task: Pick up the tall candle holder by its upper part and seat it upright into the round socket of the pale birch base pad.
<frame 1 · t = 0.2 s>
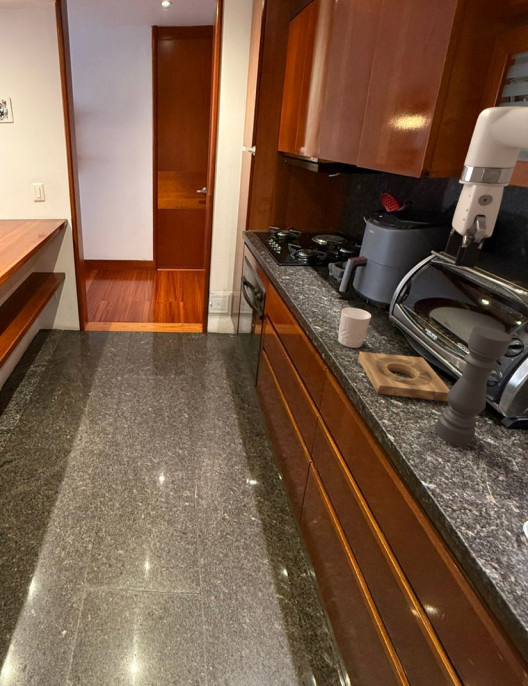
hand: (458, 259, 82), 35 cm above the worktop, tool pointing down, fingers open, 9 cm apart
candle holder: (451, 436, 83), on the worktop
base pad: (399, 378, 102), on the worktop
white cup: (349, 342, 119), on the worktop
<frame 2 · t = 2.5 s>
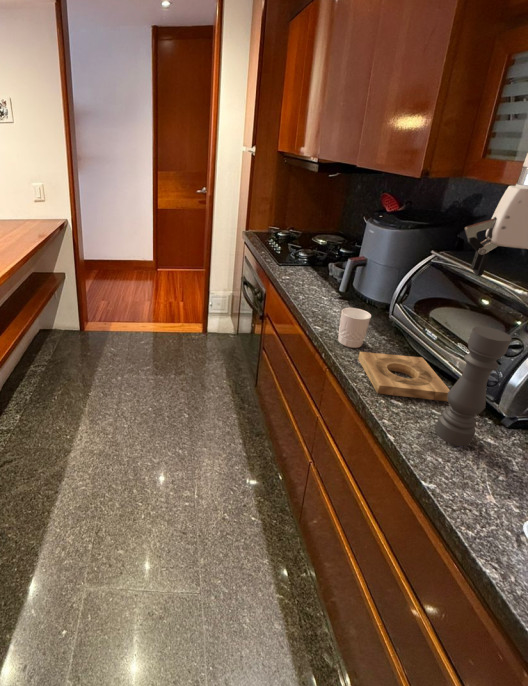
hand: (510, 278, 69), 36 cm above the worktop, tool pointing down, fingers open, 9 cm apart
nothing on the worktop moved.
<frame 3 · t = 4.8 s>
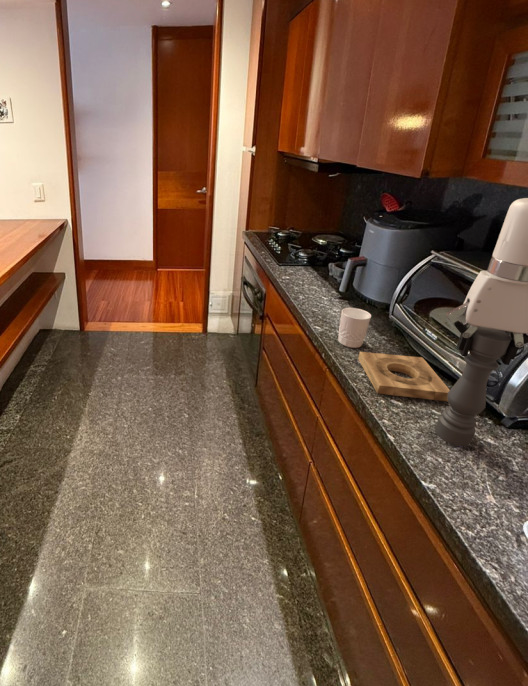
hand: (482, 356, 75), 20 cm above the worktop, tool pointing down, fingers closed on candle holder, 5 cm apart
candle holder: (451, 436, 83), on the worktop, touching gripper
everything else where it was.
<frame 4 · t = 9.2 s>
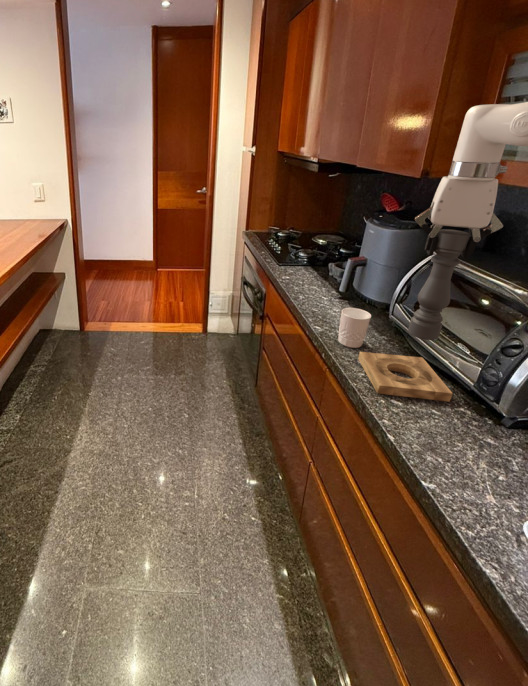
hand: (446, 255, 86), 35 cm above the worktop, tool pointing down, fingers closed on candle holder, 5 cm apart
candle holder: (422, 334, 93), point 15 cm above the worktop, touching gripper
everything else where it was.
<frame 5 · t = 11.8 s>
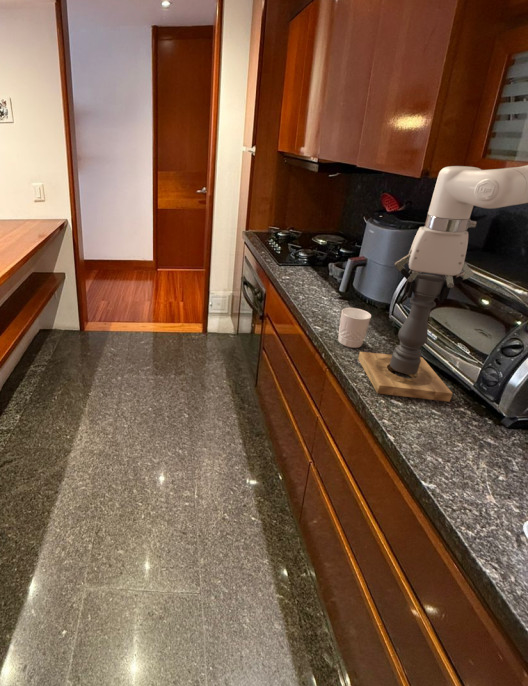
hand: (424, 297, 93), 23 cm above the worktop, tool pointing down, fingers closed on candle holder, 5 cm apart
candle holder: (403, 368, 101), point 3 cm above the worktop, touching gripper
everything else where it was.
when the fingers open (20 cm above the worktop, at t = 13.5 s): candle holder stays where it is, resting in base pad.
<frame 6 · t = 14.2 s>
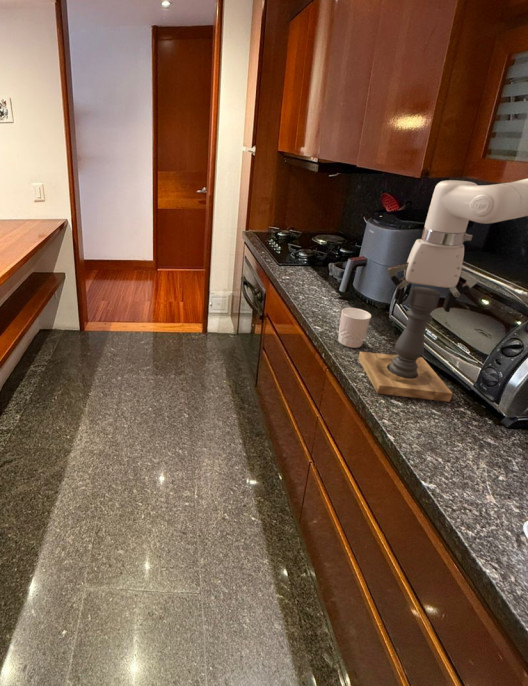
hand: (421, 305, 94), 21 cm above the worktop, tool pointing down, fingers open, 9 cm apart
candle holder: (400, 379, 102), resting in base pad
everything else where it was.
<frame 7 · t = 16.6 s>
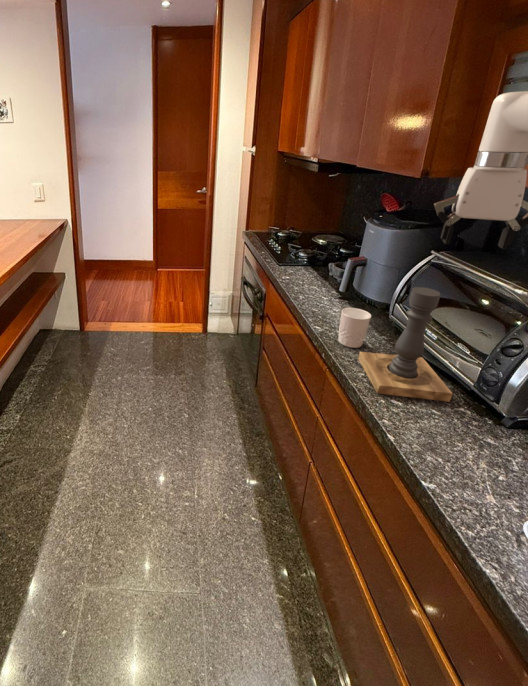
hand: (473, 245, 83), 38 cm above the worktop, tool pointing down, fingers open, 9 cm apart
nothing on the worktop moved.
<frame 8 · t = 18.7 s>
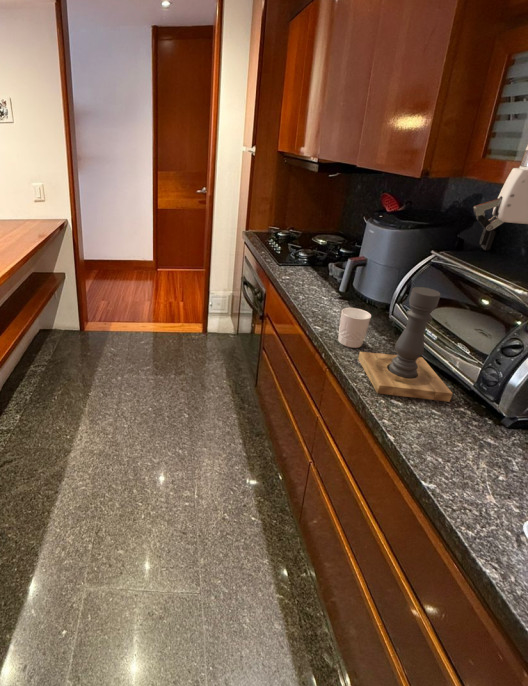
hand: (515, 251, 77), 38 cm above the worktop, tool pointing down, fingers open, 9 cm apart
nothing on the worktop moved.
at the end: candle holder 0.1 cm off-centre in the base pad, point 0.0 cm above the base pad's base; candle holder tilted 0° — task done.
